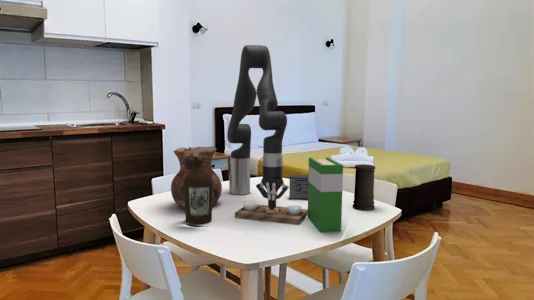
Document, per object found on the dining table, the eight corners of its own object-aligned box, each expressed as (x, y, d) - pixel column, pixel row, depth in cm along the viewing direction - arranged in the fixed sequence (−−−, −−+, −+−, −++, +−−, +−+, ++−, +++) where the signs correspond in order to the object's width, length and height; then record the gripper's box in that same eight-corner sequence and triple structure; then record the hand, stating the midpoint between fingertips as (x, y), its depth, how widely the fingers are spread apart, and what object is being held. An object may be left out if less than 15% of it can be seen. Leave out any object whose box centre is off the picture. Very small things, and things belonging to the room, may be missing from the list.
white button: (241, 210, 162) (241, 203, 162) (246, 207, 167) (246, 200, 166) (253, 211, 160) (253, 205, 160) (258, 208, 165) (258, 202, 165)
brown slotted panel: (234, 220, 158) (234, 212, 158) (248, 210, 172) (248, 203, 171) (299, 227, 150) (299, 219, 150) (308, 216, 164) (308, 209, 163)
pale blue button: (286, 214, 156) (286, 208, 156) (290, 211, 161) (290, 205, 161) (299, 216, 155) (299, 209, 154) (302, 212, 159) (303, 206, 159)
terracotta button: (263, 216, 159) (263, 210, 159) (267, 213, 164) (268, 206, 164) (276, 217, 158) (276, 211, 157) (280, 214, 162) (280, 208, 162)
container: (376, 206, 179) (378, 165, 177) (372, 211, 171) (373, 168, 169) (355, 204, 183) (356, 163, 181) (350, 209, 175) (351, 166, 173)
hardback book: (307, 219, 160) (308, 157, 157) (326, 219, 161) (328, 157, 158) (319, 235, 142) (321, 165, 139) (340, 234, 143) (343, 165, 140)
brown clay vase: (165, 202, 183) (164, 146, 180) (211, 197, 192) (210, 143, 189) (179, 216, 163) (178, 152, 160) (229, 209, 173) (229, 149, 170)
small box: (312, 196, 196) (312, 174, 194) (312, 200, 189) (312, 177, 188) (289, 196, 197) (290, 174, 195) (289, 199, 190) (289, 176, 189)
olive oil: (183, 219, 158) (182, 154, 155) (211, 218, 161) (211, 153, 157) (184, 228, 148) (183, 158, 145) (214, 226, 151) (214, 157, 147)
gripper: (252, 164, 157) (252, 209, 159) (286, 167, 153) (286, 213, 155) (259, 161, 164) (259, 205, 166) (292, 163, 160) (291, 208, 162)
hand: (272, 209), depth 160 cm, fingers closed
